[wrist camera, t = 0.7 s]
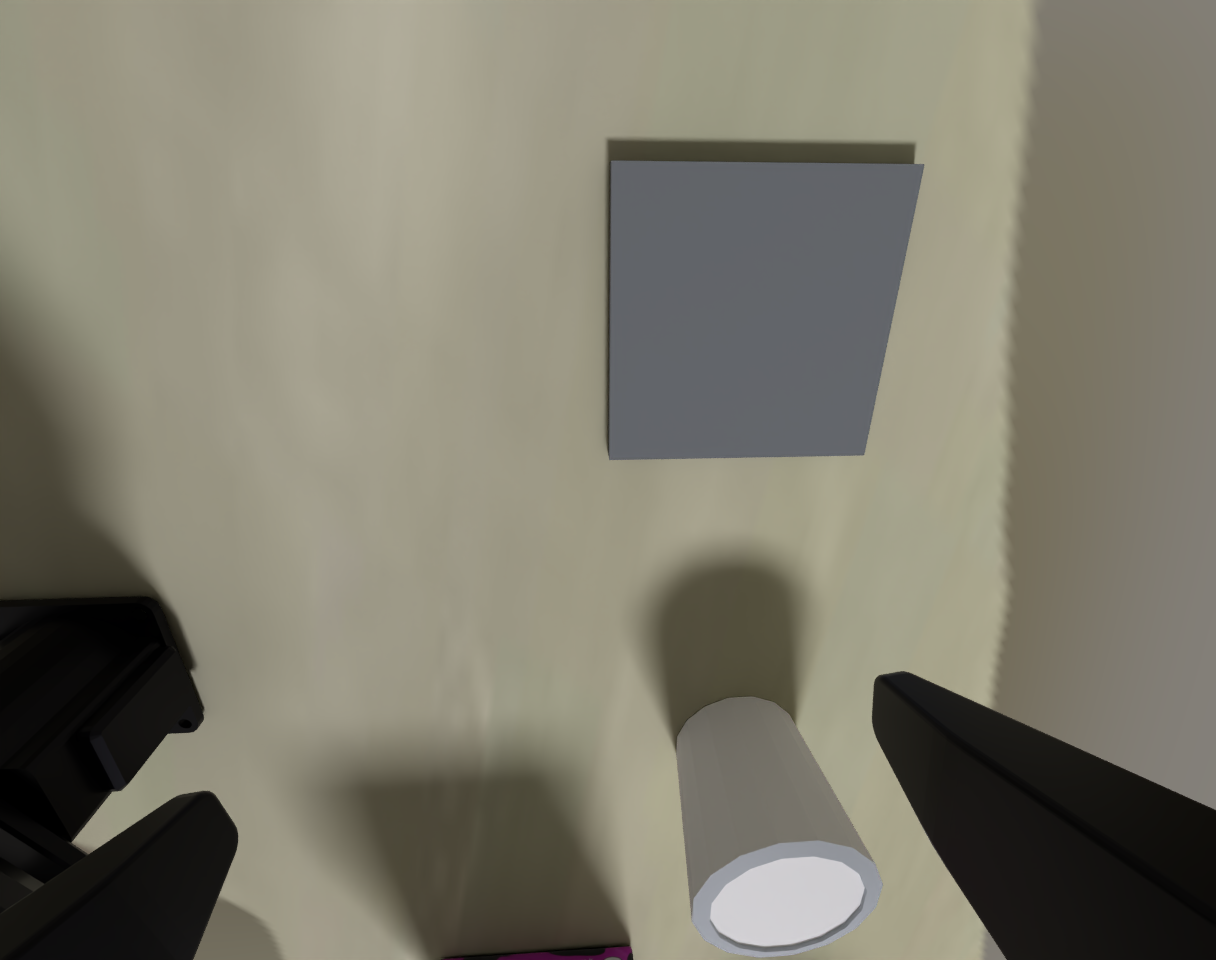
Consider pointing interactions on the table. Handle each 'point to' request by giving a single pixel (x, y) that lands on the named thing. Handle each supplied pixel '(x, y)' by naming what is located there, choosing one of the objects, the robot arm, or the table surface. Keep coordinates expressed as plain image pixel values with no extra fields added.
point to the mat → (751, 304)
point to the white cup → (766, 835)
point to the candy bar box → (564, 955)
